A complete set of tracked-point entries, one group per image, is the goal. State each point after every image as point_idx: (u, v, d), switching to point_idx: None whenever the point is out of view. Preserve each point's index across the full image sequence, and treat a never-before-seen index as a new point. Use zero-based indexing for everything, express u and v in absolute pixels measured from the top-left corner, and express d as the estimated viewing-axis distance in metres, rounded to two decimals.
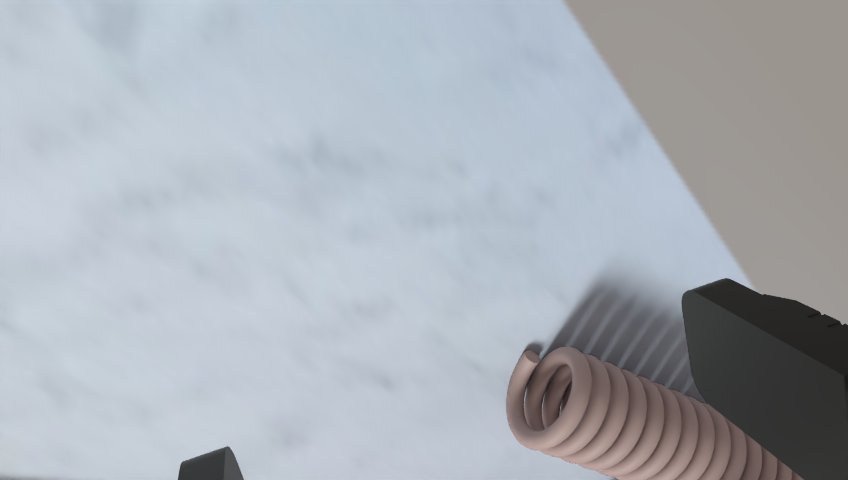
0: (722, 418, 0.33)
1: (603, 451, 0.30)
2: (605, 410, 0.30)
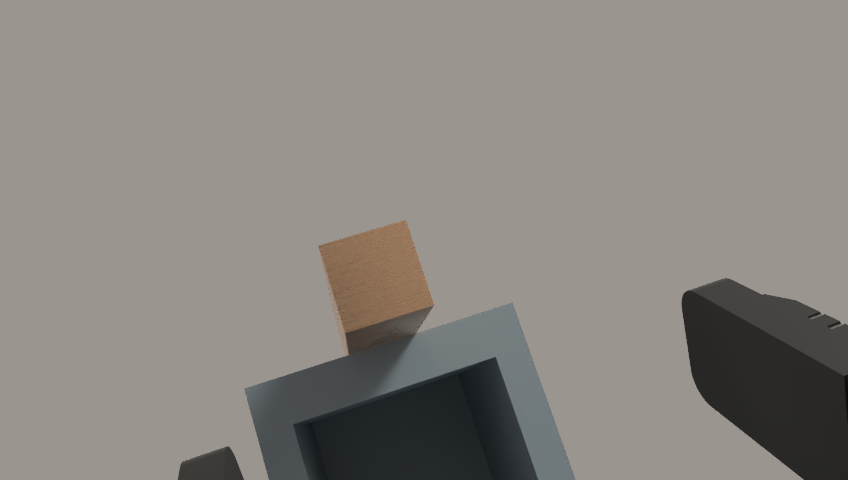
0: None
1: None
2: None
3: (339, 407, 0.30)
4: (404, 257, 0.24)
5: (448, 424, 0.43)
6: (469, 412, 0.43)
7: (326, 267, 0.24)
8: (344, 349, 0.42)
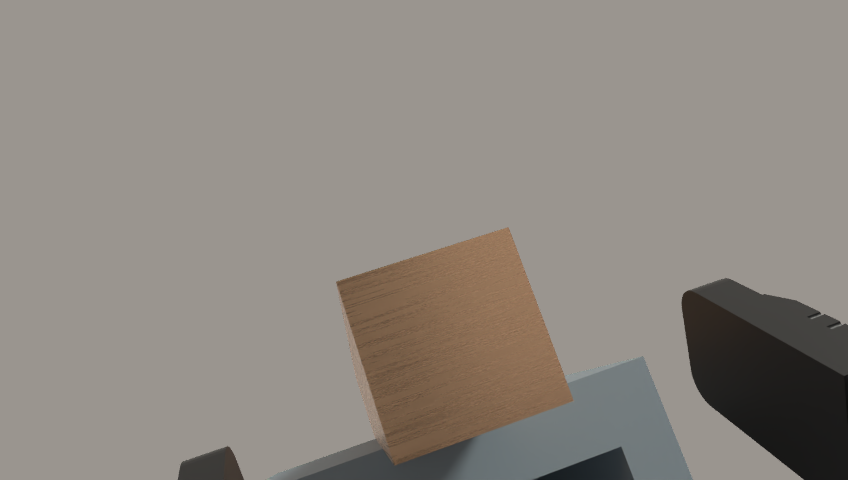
0: None
1: None
2: None
3: None
4: (509, 302, 0.12)
5: None
6: None
7: (352, 326, 0.12)
8: None
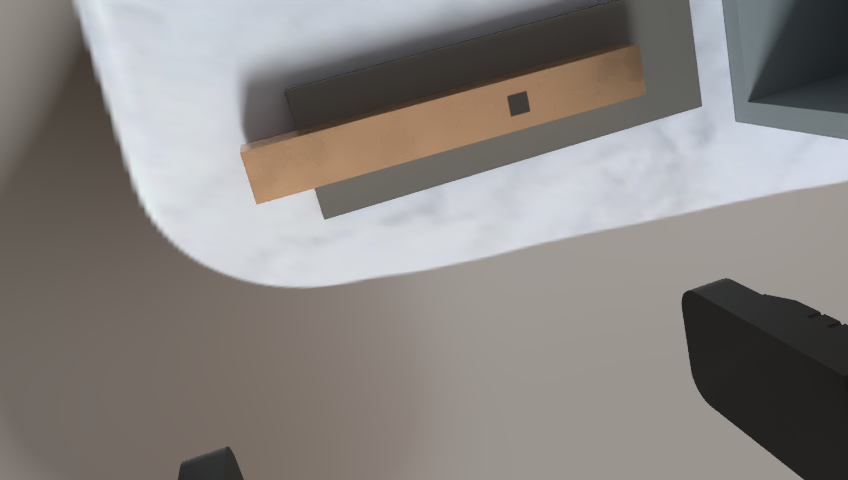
0: None
1: None
2: None
3: None
4: None
5: None
6: None
7: (241, 151, 0.40)
8: (560, 61, 0.44)
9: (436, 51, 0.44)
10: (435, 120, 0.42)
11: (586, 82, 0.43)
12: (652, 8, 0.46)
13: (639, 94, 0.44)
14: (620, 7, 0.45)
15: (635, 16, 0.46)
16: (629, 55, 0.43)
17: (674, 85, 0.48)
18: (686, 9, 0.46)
